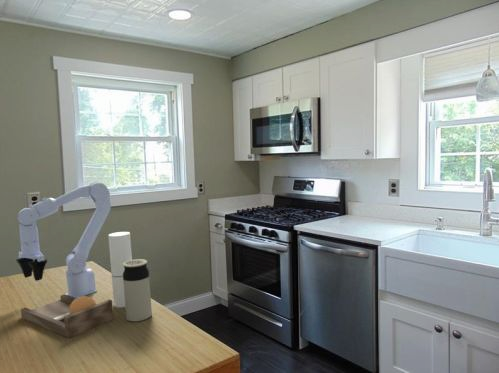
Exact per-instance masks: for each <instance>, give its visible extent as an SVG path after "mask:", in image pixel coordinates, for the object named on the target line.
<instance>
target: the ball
mask: <svg viewBox="0 0 499 373" xmlns="http://www.w3.org/2000/svg"><path fill="white" fill-rule="evenodd" d="M96 304H97V303H96V301H95V300H94V299H93V298H92V297H90V296H88V295H85V296H81V297H78V298H76V299H75V300H74V301H73V302H72V303H71V305H70V307H69V314H70V315H71V314H73V313H76V312H79V311H81V310H84V309H86V308H89V307H91V306H94V305H96Z"/></svg>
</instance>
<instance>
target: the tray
mask: <svg viewBox="0 0 499 373" xmlns="http://www.w3.org/2000/svg"><path fill="white" fill-rule="evenodd" d="M65 294H66V293H64V295H63V294H61V295H60V299H59V300H55V301H54V302H49V303H48V304H45V305H41V306H38V307H35V308H33V309H30V308H28V307H23V308H20V316H21V317H20V318H21V319H23V320H25V321H28V322H31V323H33V324H35V325H37V326H39V327H42V328H44V329H46V330H49V331H51V332H53V333H55V334H58V335H60V336H63V337H65V338H67V339H70V338H72V337H75V336H77V335H79V334H82V333H83V332H84V333H85V332H87V331H89V330H91V329H93V328H96V327H97V326H100V325H102V324H105V323H106V322H108V321H111V320H113V319H114V309H113V300H112V299H107V300H105V301H104V300H103V301H101V302H98V303H96V305H94V306H91V307H89V308H86V309H84V310H81V311H79V312H76V313H73V314H71V315H70V314H69V307H70V305H71V303H72V302H73V301H74V300H75V299H76V298H75V297H72V296H68V295H65Z"/></svg>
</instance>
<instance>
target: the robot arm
mask: <svg viewBox="0 0 499 373" xmlns="http://www.w3.org/2000/svg"><path fill="white" fill-rule="evenodd" d="M110 196H111V193H110V190H109V189H108V186H107V185H106V184H104V183H103V182H98V181H93V182H90V183H88V184H85V185H81V186H79V187H77V188H75V189H73V190H70V191H68V192H66V193H65V194H63V195H60V196H58V197H55V198H53V197H48V198H47V197H44V198H42V199H41V201H39V202H37V203H35V204H32V203H31V204H29V205H28V207H25V208H23V209H21V210H20V211H19V212H18V215H17V220H18V223H19V224H18V227H19V230H18V231H19V241H20V250H21V251H18V259H16V260H15V261H16V263H17V264H18V266H19V267H20V268H21V271H22V274H23V276H24V278H29V277H33V278H34V280H35V281H36V282H38V281H40V280H42V279H43V275H44V271H45V267H46V264H47V263H48V259H46V258H45V255H44V254H43V253H42V252H41V250H40V239H39V237H40V236H39V230H38V226H37V220H42V219H44V218H46V217H48V216H50V215H52V214H55V213H56V212H58V211H59V208H60V207H62V206H63V205H66V204H69V203H70V202H73V201H75V200H77V199H81V198H85V199H86V198H87V199H90V198H91V199H92V200H93V203H94V205H95V211H94V212H93V214H92V216H91V218H90V220H89V221H88V224H87V225H86V228H85V229H84V232H83V233H82V235H81V237H80V239H79V241H78V243H77V244H76V246H75V247H74V248H73V250H72V251H71V252H70V253H69V254H68V255H67V256H66V257H65V264H66V266H67V270H66V271H65V274H66V287H67V292H66V293H64V294H65V295H68V296H72V297H75V298H78V297H81V296H88V295H91V294H93V293H96V292H97V291H98V290H97V288H96V279H95V273H94V271H93V270H92V268H87V260H88V258H89V255H90V250H91V248H92V247H93V244H95V240H96V239H97V236H98V235H99V233H100V230H102V229H101V228H102V227H103V225H104V223H105V221H106V219H107V217H108V216H109V213H110V211H111V208H112V206H111V198H110ZM32 275H33V276H32ZM35 281H34V282H35ZM64 294H62V295H64Z"/></svg>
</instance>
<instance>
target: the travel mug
mask: <svg viewBox="0 0 499 373" xmlns="http://www.w3.org/2000/svg"><path fill="white" fill-rule="evenodd" d="M147 263H148V260H146V259H143V258H139V259H138V258H136V259H132V260H130V261H126V262H124V263H123V266H124V268H125V270H124V272H123V283H124V296H125V307H124V309H125V318H126V320H127V321H129V322H142V321H145V320H148V318H151V316H152V314H153V312H152V309H153V308H152V297H151V296H152V295H151V284H150V283H151V282H150V281H151V280H150V270H149V269H148V267H147Z"/></svg>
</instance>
